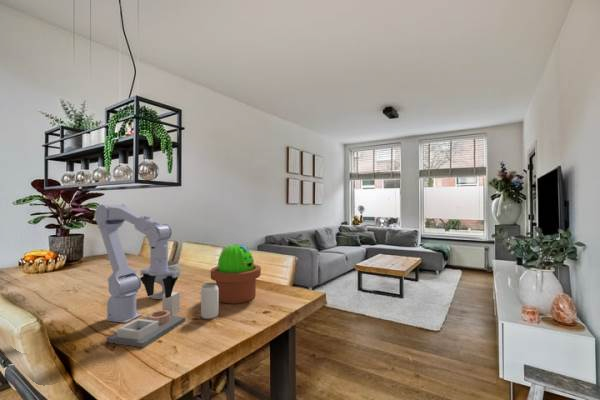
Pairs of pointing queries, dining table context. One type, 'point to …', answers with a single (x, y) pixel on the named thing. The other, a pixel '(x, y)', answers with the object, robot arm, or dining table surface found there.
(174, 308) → the square peg
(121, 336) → the socket board
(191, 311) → the dining table surface
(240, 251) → the potted cactus
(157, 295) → the chalice
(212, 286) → the can
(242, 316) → the dining table surface
